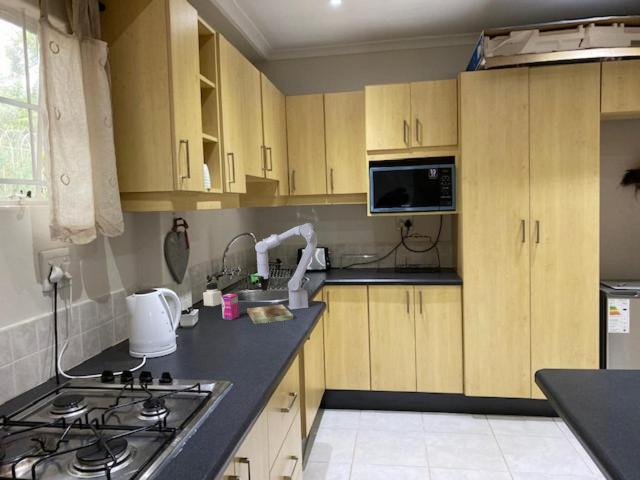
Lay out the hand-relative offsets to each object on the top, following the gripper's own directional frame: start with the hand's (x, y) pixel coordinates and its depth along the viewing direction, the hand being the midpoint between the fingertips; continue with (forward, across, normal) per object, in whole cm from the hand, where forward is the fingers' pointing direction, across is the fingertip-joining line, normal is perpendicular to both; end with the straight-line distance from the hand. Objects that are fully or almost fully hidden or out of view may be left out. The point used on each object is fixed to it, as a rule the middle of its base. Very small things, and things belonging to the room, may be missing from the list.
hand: (264, 290), depth 238 cm
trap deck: (+9, +16, -1) cm, 19 cm away
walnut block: (+7, +24, -1) cm, 25 cm away
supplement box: (+10, +12, -19) cm, 24 cm away
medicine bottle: (+10, -24, -25) cm, 36 cm away
